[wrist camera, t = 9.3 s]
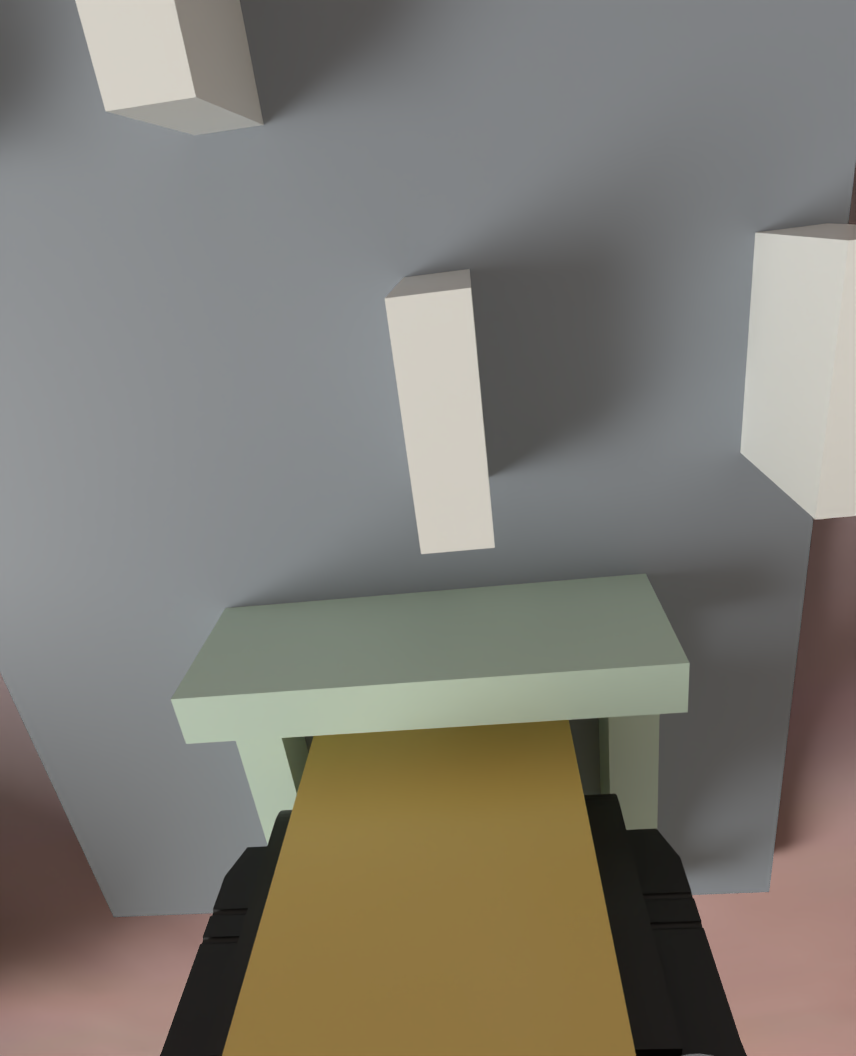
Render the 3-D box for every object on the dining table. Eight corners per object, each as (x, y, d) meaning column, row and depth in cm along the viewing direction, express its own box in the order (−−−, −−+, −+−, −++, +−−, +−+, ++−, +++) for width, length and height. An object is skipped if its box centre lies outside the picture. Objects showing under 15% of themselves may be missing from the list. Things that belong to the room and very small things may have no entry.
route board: (-405, -337, 8) (-496, -395, 7) (910, -656, 6) (964, -765, 6) (129, 884, 16) (113, 916, 15) (753, 858, 15) (769, 892, 14)
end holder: (225, 608, 12) (170, 699, 10) (645, 573, 11) (689, 663, 9) (307, 897, 15) (280, 1016, 13) (642, 883, 14) (675, 1007, 12)
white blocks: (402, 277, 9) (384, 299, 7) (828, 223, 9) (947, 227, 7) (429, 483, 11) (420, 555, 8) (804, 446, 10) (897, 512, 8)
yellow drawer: (314, 732, 11) (97, 1494, 4) (568, 716, 11) (729, 1524, 4) (356, 901, 13) (240, 1638, 6) (576, 893, 12) (701, 1668, 6)
